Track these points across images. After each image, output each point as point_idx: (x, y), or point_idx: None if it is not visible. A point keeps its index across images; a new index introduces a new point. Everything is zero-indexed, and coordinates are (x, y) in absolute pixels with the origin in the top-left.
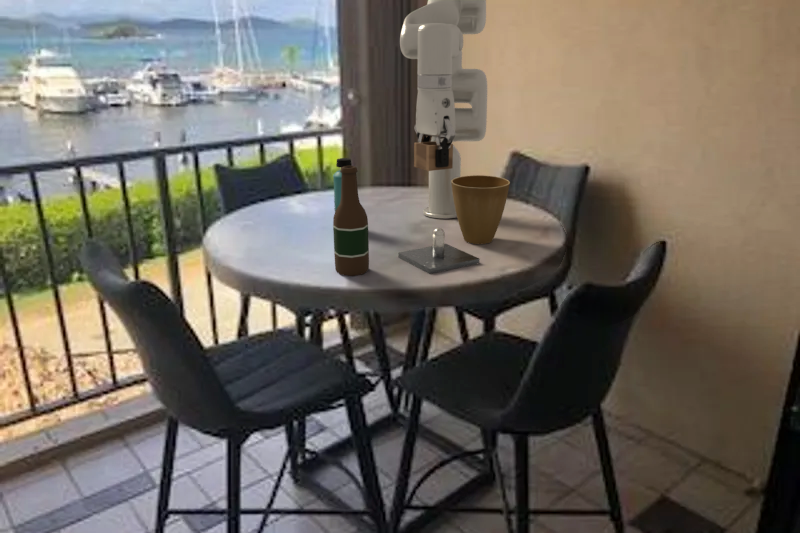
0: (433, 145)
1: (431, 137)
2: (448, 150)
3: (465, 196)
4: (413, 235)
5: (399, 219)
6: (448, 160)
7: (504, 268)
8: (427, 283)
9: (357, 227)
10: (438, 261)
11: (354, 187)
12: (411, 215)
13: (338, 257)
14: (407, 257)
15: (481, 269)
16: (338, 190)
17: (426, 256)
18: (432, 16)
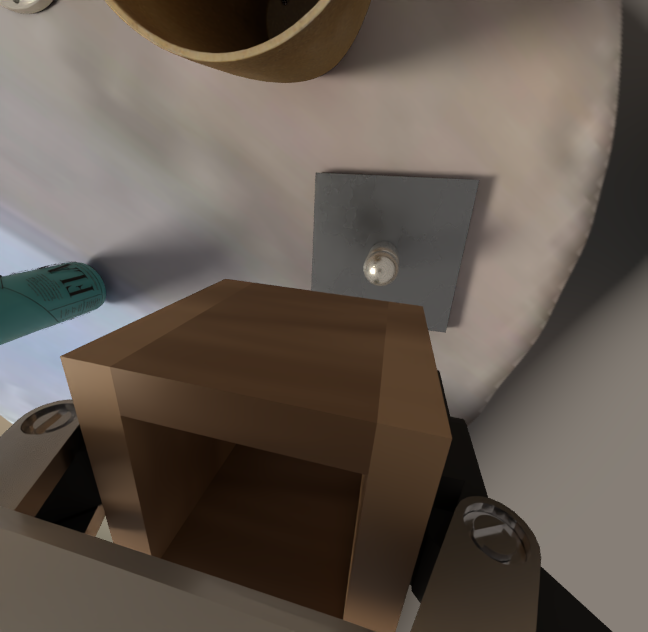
0: (374, 630)
1: (38, 481)
2: (457, 465)
3: (293, 57)
4: (186, 178)
5: (44, 118)
6: (443, 394)
7: (561, 145)
8: (484, 364)
9: None
10: (419, 284)
11: None
12: (11, 55)
13: None
14: None
15: (513, 208)
16: (5, 342)
17: (371, 283)
18: None
